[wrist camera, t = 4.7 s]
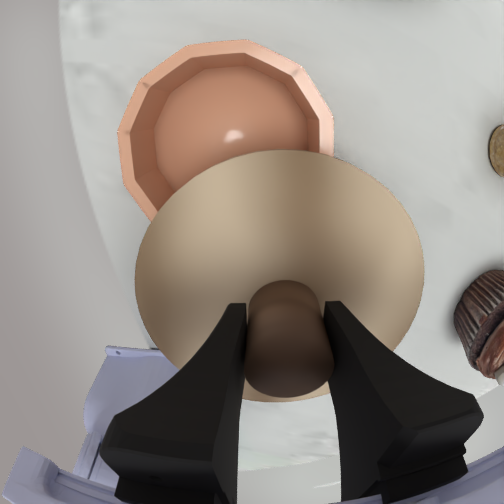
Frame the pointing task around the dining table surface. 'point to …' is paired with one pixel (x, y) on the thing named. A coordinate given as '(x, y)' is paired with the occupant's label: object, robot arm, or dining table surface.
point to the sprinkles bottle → (497, 150)
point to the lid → (279, 265)
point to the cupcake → (483, 324)
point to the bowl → (216, 116)
